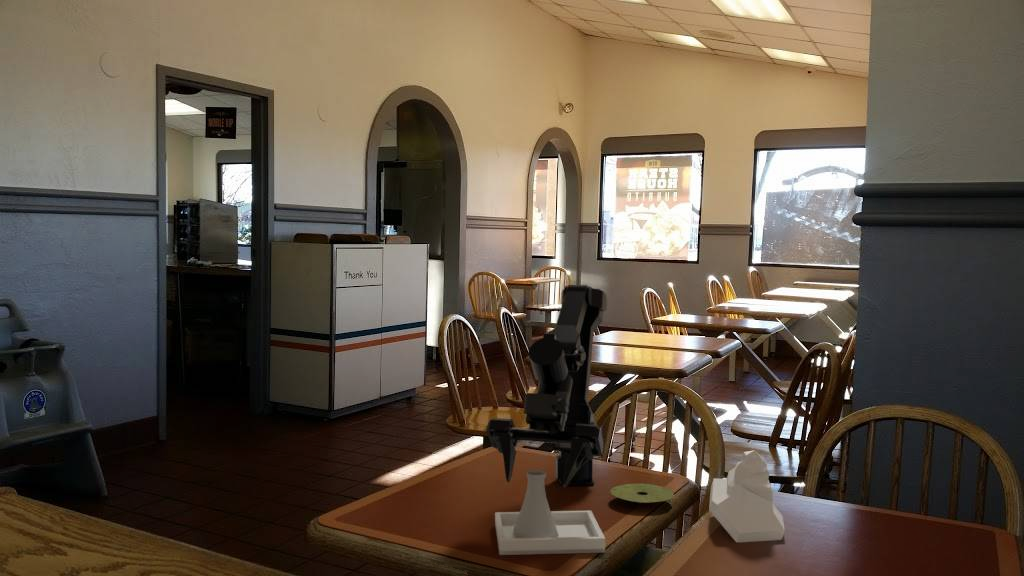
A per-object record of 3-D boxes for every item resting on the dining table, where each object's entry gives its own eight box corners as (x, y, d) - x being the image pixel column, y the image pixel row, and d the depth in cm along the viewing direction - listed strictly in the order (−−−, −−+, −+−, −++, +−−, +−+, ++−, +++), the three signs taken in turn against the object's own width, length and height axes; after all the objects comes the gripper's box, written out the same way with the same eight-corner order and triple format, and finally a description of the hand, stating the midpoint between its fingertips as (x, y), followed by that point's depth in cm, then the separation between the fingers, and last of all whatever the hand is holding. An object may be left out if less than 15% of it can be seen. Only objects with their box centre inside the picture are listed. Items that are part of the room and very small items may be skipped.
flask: (546, 524, 137) (546, 464, 136) (566, 539, 130) (567, 475, 129) (505, 530, 134) (506, 469, 133) (524, 545, 127) (524, 481, 126)
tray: (590, 523, 139) (591, 510, 139) (605, 552, 126) (605, 538, 126) (495, 525, 138) (495, 512, 138) (499, 555, 125) (499, 540, 125)
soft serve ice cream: (778, 525, 143) (803, 450, 140) (776, 564, 129) (803, 482, 126) (707, 500, 146) (729, 426, 143) (697, 535, 132) (721, 454, 129)
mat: (600, 496, 154) (600, 485, 154) (655, 490, 157) (655, 480, 157) (627, 515, 143) (627, 504, 143) (685, 509, 146) (685, 498, 146)
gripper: (489, 370, 138) (467, 452, 128) (601, 375, 133) (587, 461, 123) (502, 407, 146) (483, 487, 136) (608, 414, 141) (596, 497, 131)
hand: (535, 483), depth 131 cm, fingers open, 9 cm apart
